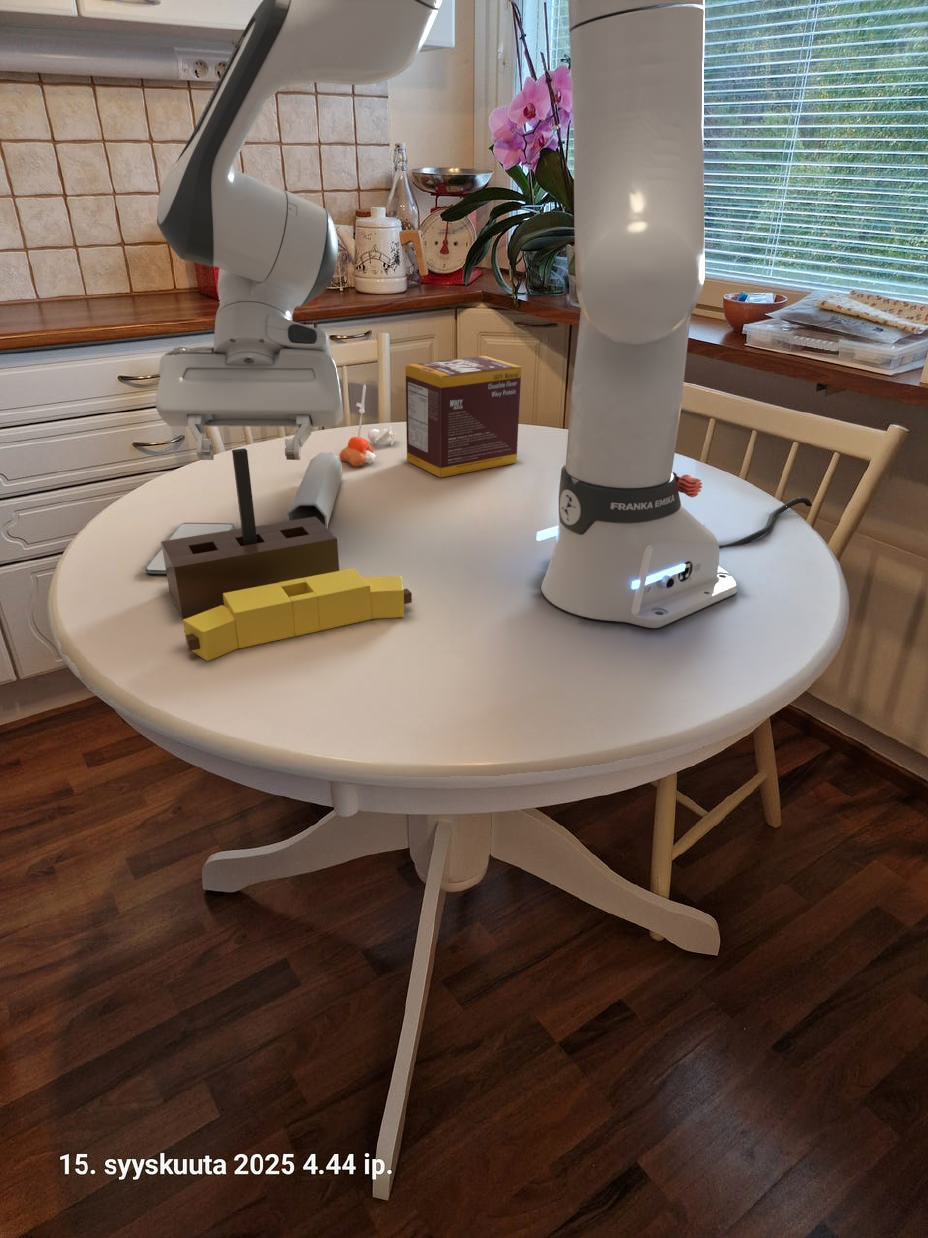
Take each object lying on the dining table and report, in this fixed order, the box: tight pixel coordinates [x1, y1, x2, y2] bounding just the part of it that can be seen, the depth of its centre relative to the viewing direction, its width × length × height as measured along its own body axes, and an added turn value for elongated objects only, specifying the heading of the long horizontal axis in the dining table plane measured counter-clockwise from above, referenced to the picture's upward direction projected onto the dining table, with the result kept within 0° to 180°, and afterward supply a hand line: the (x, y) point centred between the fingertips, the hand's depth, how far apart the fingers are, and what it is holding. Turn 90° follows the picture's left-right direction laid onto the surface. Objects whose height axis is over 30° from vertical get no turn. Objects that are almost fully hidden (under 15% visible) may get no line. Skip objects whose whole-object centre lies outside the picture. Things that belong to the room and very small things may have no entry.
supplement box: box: [404, 355, 522, 478], centre depth 131 cm, size 10×15×16 cm
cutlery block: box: [160, 517, 340, 620], centre depth 90 cm, size 7×17×6 cm, turn 118°
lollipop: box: [339, 384, 376, 467], centre depth 132 cm, size 6×10×12 cm, turn 177°
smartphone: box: [144, 522, 235, 575], centre depth 101 cm, size 7×1×15 cm
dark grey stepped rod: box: [231, 448, 257, 546], centre depth 88 cm, size 2×1×16 cm, turn 118°
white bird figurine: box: [367, 422, 397, 447], centre depth 142 cm, size 8×5×5 cm, turn 177°
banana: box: [182, 567, 413, 662], centre depth 84 cm, size 6×23×4 cm, turn 118°
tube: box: [285, 451, 343, 530], centre depth 114 cm, size 5×5×25 cm
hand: (249, 457), depth 89 cm, fingers open, 8 cm apart
